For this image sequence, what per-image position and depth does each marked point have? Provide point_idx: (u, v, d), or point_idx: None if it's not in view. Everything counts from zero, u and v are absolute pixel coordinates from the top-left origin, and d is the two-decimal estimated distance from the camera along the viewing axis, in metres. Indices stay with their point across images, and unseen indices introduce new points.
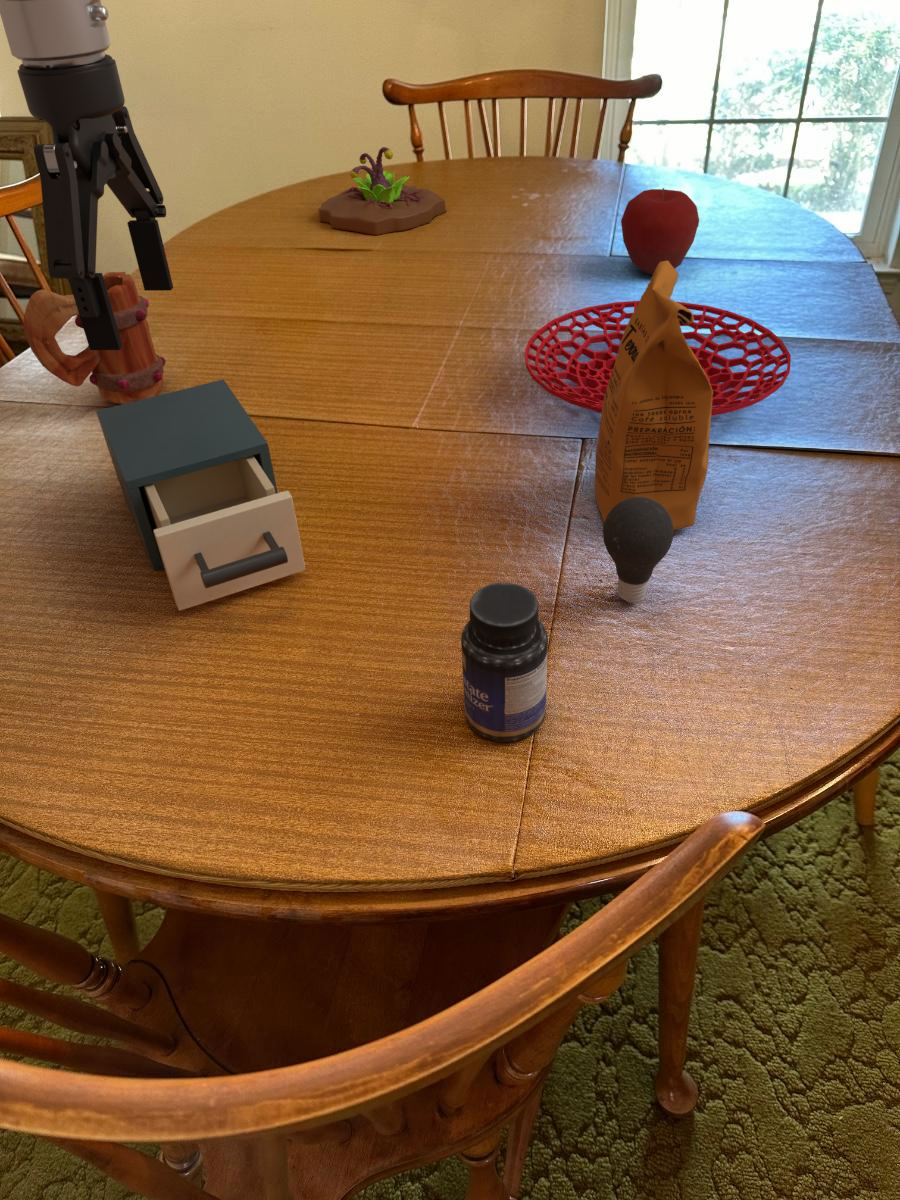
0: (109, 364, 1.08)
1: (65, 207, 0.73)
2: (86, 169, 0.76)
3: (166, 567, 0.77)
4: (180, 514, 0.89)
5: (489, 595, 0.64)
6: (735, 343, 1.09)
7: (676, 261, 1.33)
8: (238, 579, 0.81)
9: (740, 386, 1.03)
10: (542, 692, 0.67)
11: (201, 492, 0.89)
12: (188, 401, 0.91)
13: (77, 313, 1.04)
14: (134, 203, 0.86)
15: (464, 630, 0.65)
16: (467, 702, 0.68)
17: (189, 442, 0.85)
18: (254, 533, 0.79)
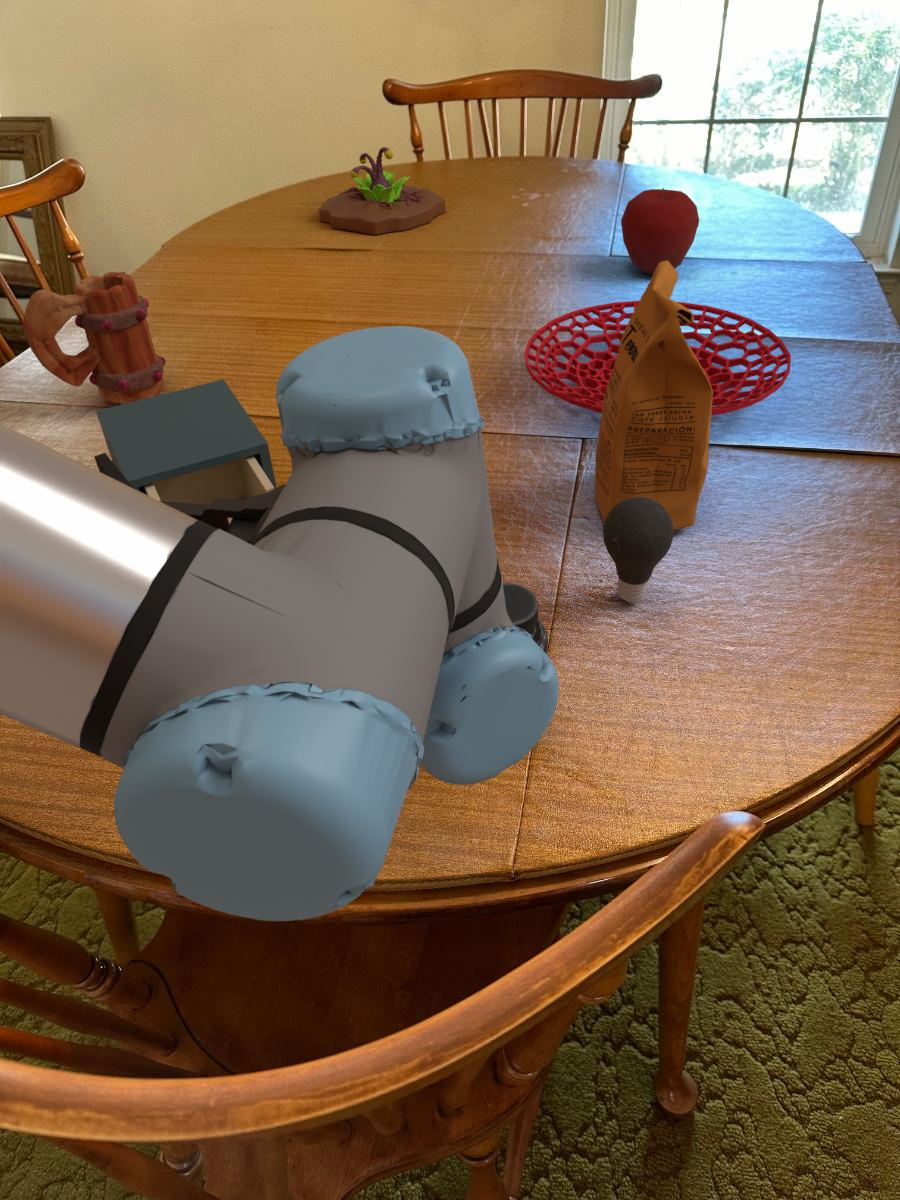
0: (109, 364, 1.08)
1: None
2: None
3: None
4: None
5: None
6: (735, 343, 1.09)
7: (676, 261, 1.33)
8: None
9: (740, 386, 1.03)
10: None
11: (201, 492, 0.89)
12: (188, 401, 0.91)
13: (77, 313, 1.04)
14: None
15: None
16: None
17: (189, 442, 0.85)
18: None
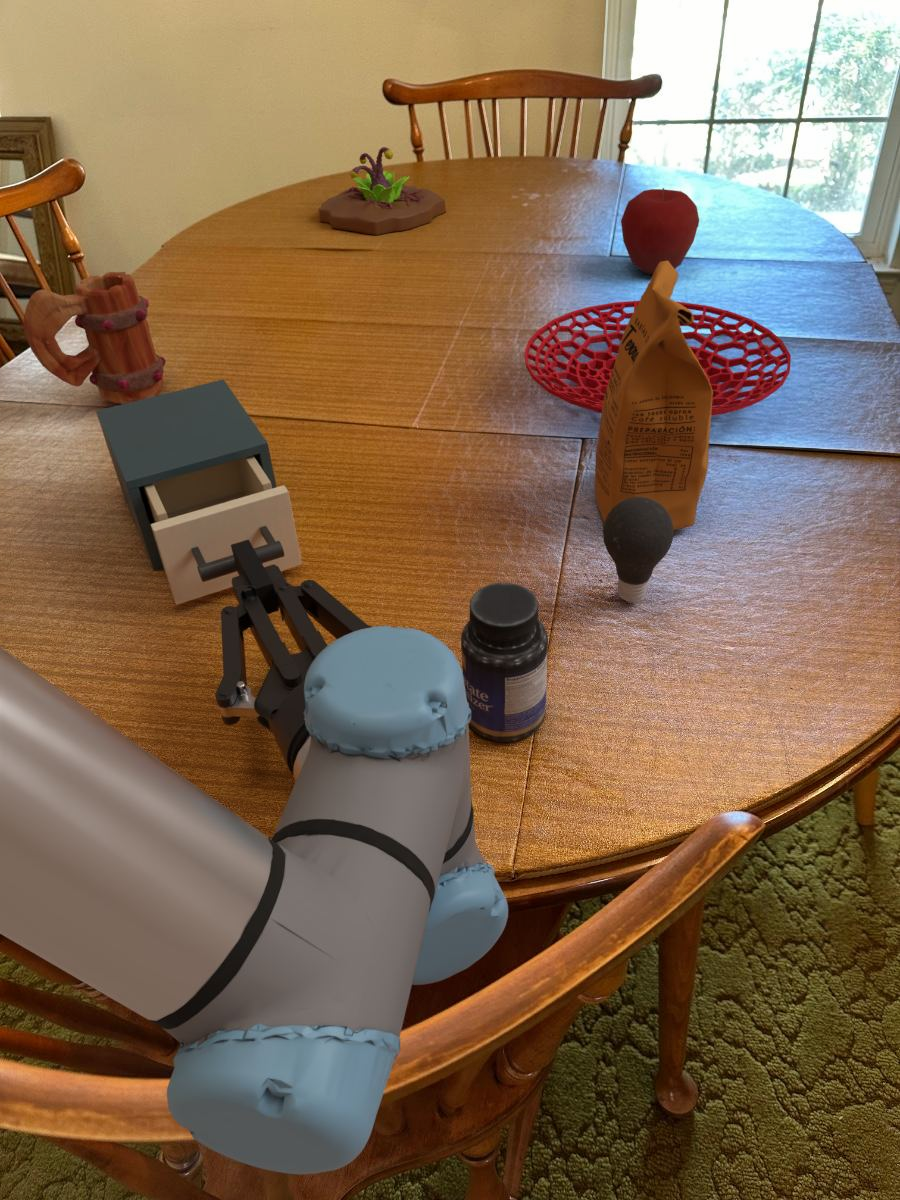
0: (109, 364, 1.08)
1: None
2: None
3: (163, 561, 0.78)
4: (178, 509, 0.90)
5: (489, 595, 0.64)
6: (735, 343, 1.09)
7: (676, 261, 1.33)
8: (235, 573, 0.82)
9: (740, 386, 1.03)
10: (542, 692, 0.67)
11: (199, 487, 0.90)
12: (188, 401, 0.91)
13: (77, 313, 1.04)
14: (286, 618, 0.69)
15: (464, 630, 0.65)
16: None
17: (189, 442, 0.85)
18: (251, 527, 0.80)
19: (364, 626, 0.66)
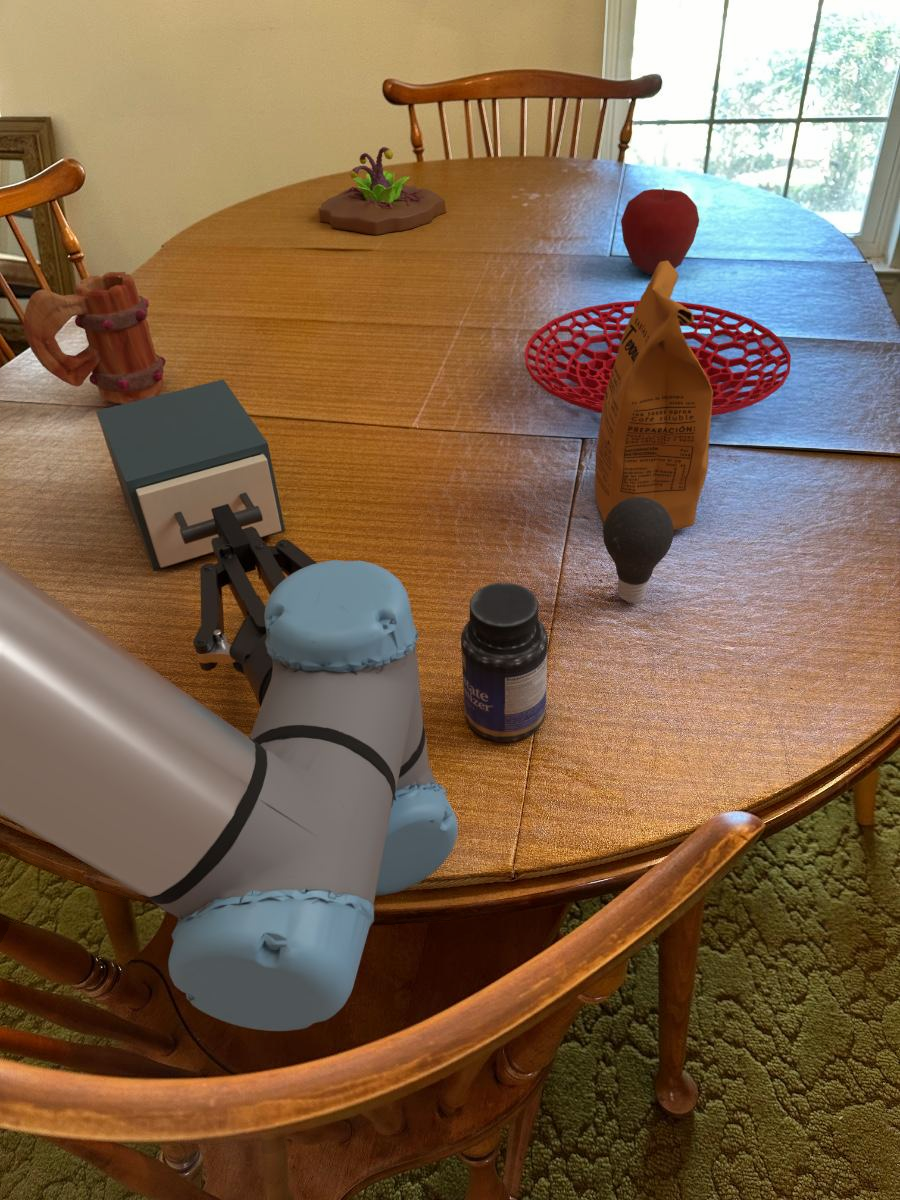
0: (109, 364, 1.08)
1: None
2: None
3: (148, 525, 0.82)
4: (164, 480, 0.94)
5: (489, 595, 0.64)
6: (735, 343, 1.09)
7: (676, 261, 1.33)
8: None
9: (740, 386, 1.03)
10: (542, 692, 0.67)
11: None
12: (188, 401, 0.91)
13: (77, 313, 1.04)
14: (262, 575, 0.74)
15: (464, 630, 0.65)
16: (467, 702, 0.68)
17: (189, 442, 0.85)
18: (231, 494, 0.84)
19: None
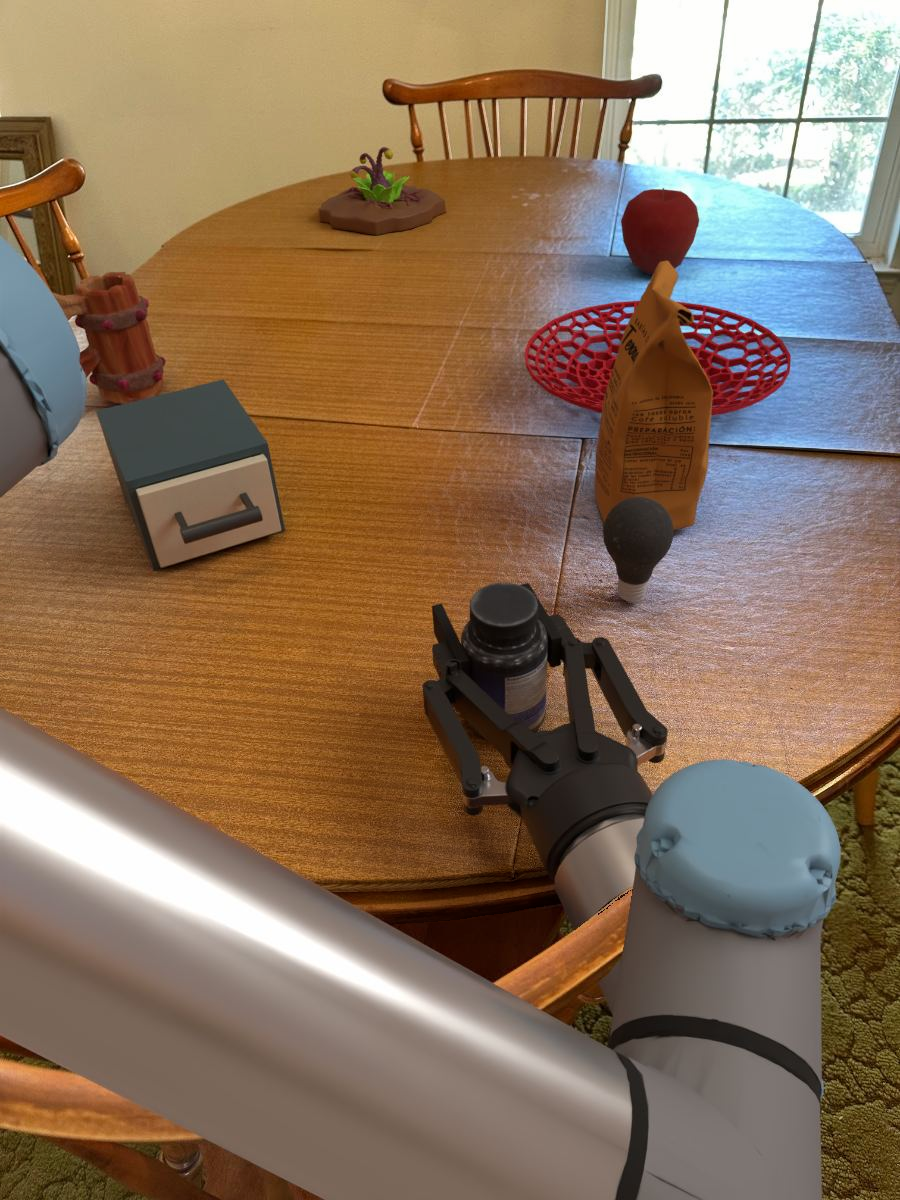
0: (109, 364, 1.08)
1: (449, 756, 0.60)
2: None
3: (148, 525, 0.82)
4: (164, 480, 0.94)
5: (489, 595, 0.64)
6: (735, 343, 1.09)
7: (676, 261, 1.33)
8: (216, 538, 0.86)
9: (740, 386, 1.03)
10: (542, 692, 0.67)
11: None
12: (188, 401, 0.91)
13: (77, 313, 1.04)
14: (566, 677, 0.64)
15: (464, 630, 0.65)
16: None
17: (189, 442, 0.85)
18: (231, 494, 0.84)
19: (643, 711, 0.59)
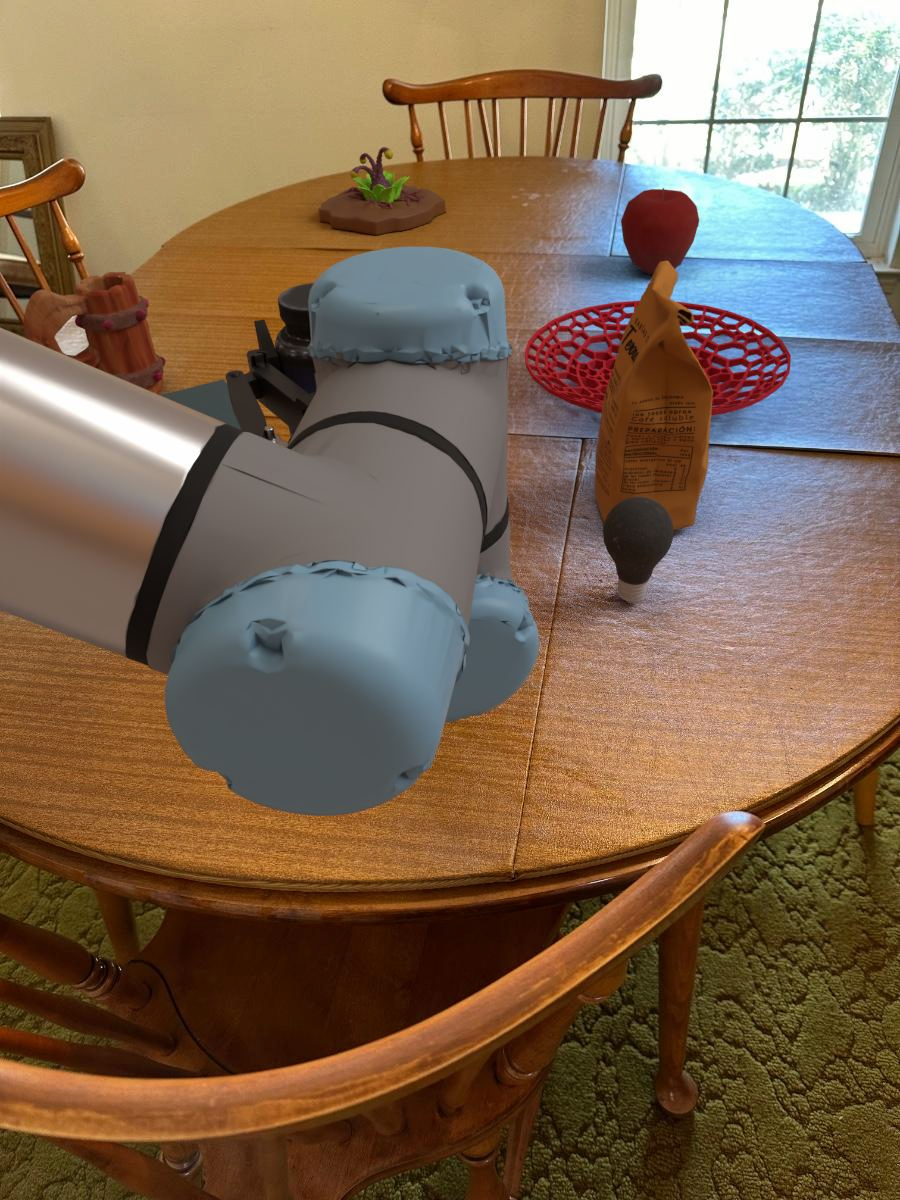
0: (109, 364, 1.08)
1: None
2: None
3: None
4: None
5: (300, 290, 0.63)
6: (735, 343, 1.09)
7: (676, 261, 1.33)
8: None
9: (740, 386, 1.03)
10: None
11: None
12: (188, 401, 0.91)
13: (77, 313, 1.04)
14: None
15: (278, 333, 0.64)
16: None
17: None
18: None
19: None
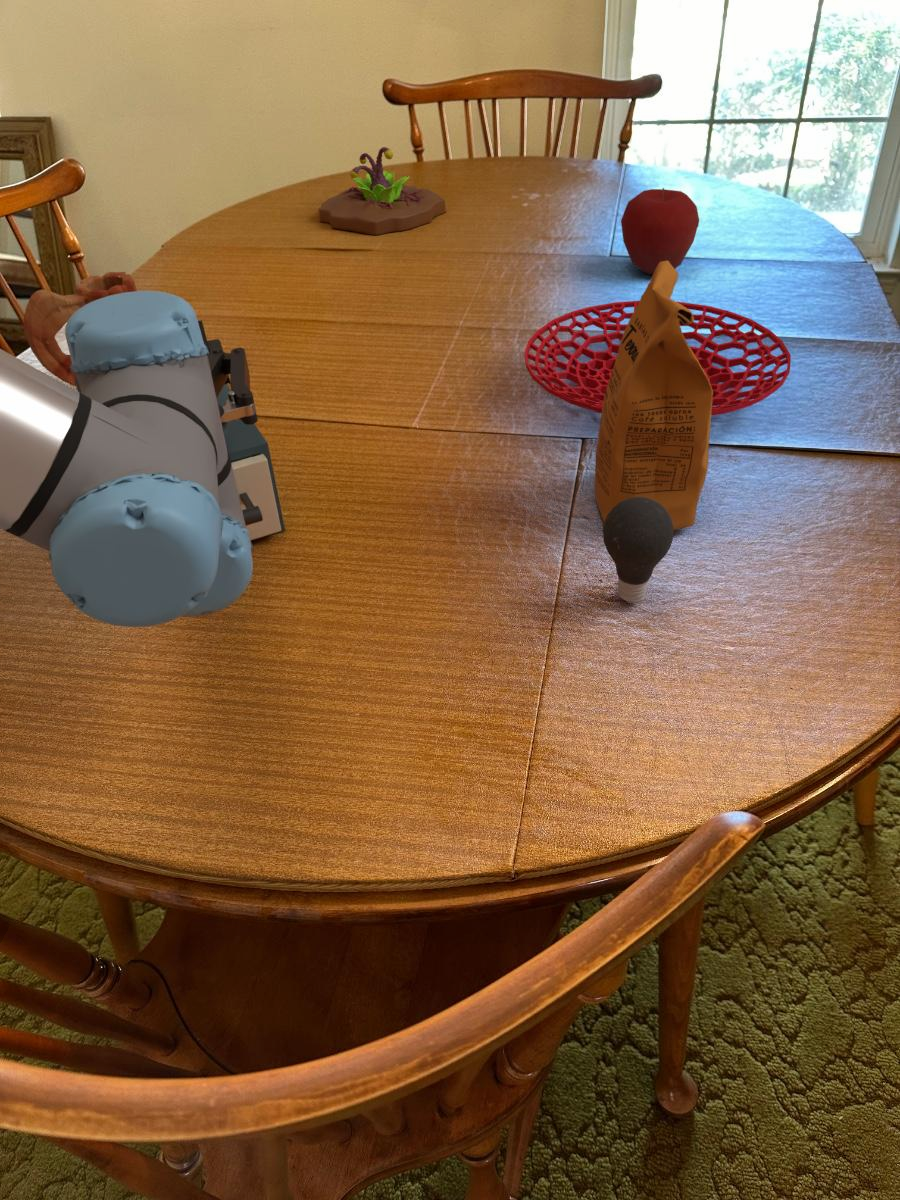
0: None
1: None
2: None
3: None
4: None
5: None
6: (735, 343, 1.09)
7: (676, 261, 1.33)
8: None
9: (740, 386, 1.03)
10: None
11: None
12: None
13: None
14: None
15: None
16: None
17: None
18: None
19: (241, 384, 0.77)
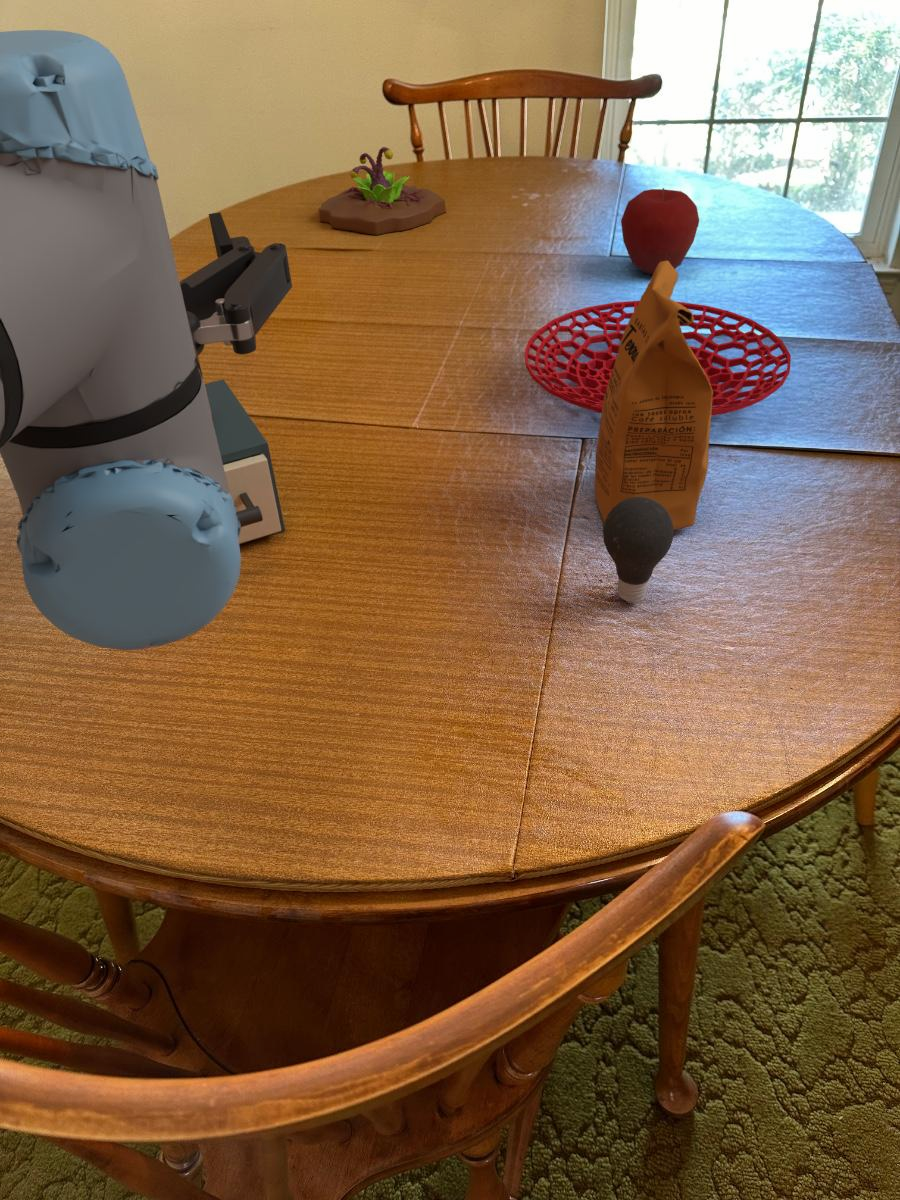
0: None
1: None
2: None
3: None
4: None
5: None
6: (735, 343, 1.09)
7: (676, 261, 1.33)
8: None
9: (740, 386, 1.03)
10: None
11: None
12: None
13: None
14: None
15: None
16: None
17: None
18: (231, 494, 0.84)
19: (242, 292, 0.50)
